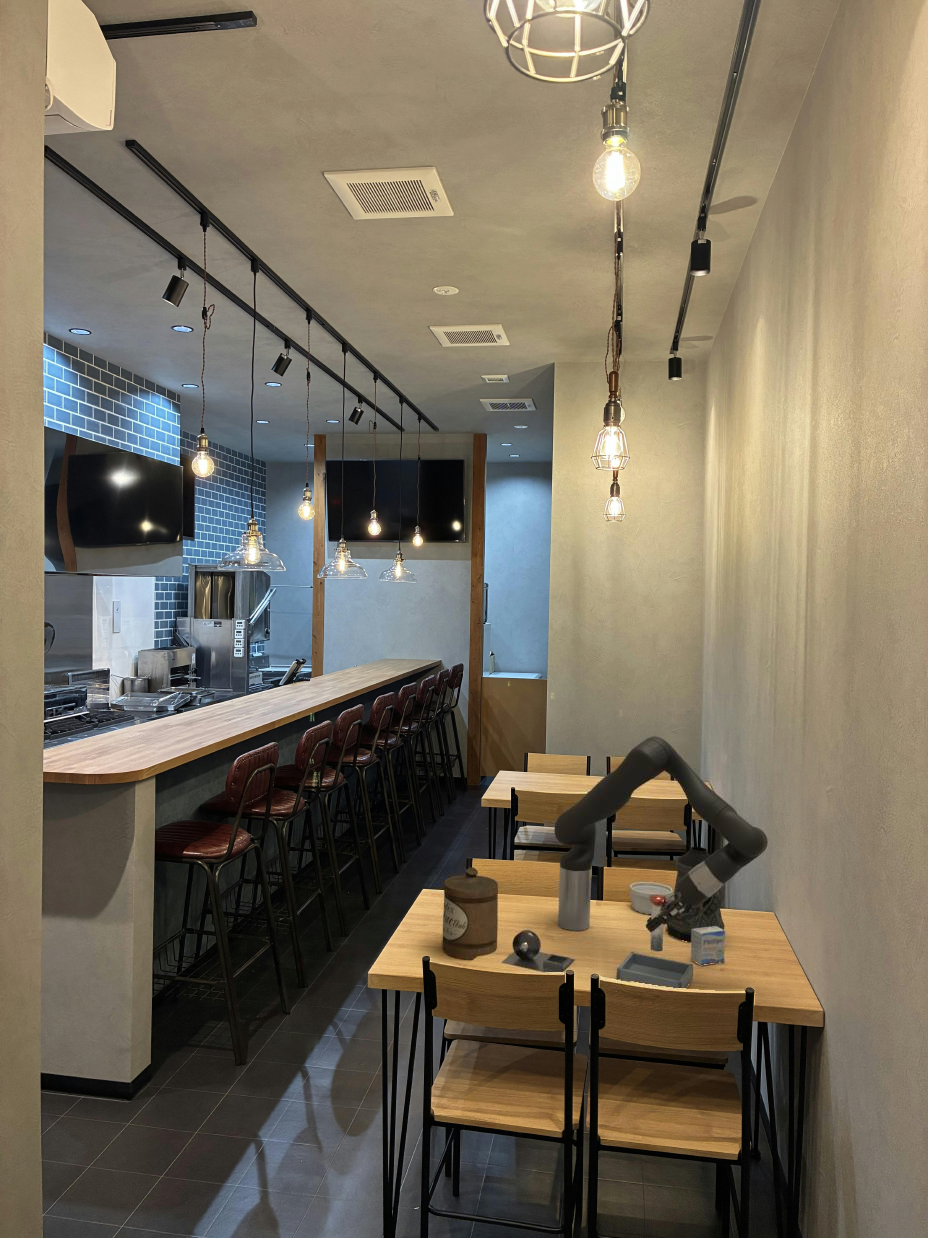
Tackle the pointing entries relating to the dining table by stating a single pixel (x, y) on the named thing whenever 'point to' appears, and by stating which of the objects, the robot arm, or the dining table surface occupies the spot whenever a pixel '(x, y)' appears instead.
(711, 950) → the medicine box
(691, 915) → the beer stein
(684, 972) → the tray
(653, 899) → the pin
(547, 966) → the pin socket base
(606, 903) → the dining table surface
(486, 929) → the wooden container
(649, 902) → the ramekin
